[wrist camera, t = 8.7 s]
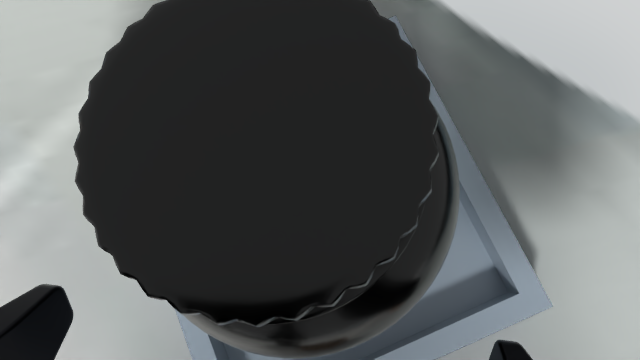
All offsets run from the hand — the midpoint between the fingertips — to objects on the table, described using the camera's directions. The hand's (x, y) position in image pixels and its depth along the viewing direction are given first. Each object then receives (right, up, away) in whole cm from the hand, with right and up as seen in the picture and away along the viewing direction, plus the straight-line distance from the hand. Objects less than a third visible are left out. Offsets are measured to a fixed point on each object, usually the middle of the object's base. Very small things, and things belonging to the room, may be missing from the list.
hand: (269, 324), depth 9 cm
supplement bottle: (+1, +1, +8) cm, 9 cm away
